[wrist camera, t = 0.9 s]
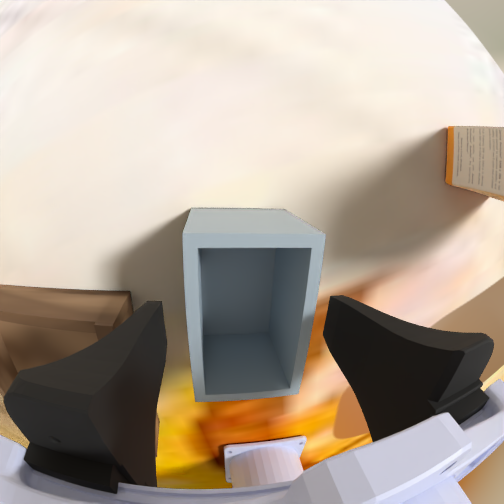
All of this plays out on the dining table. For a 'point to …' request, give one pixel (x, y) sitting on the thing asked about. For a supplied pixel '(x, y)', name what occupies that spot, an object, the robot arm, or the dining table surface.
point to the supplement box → (476, 159)
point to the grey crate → (249, 300)
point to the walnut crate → (55, 326)
